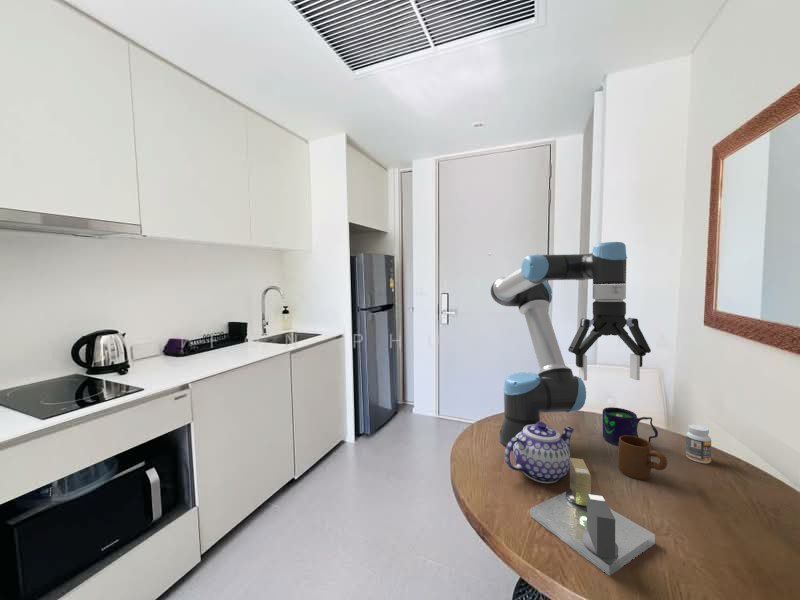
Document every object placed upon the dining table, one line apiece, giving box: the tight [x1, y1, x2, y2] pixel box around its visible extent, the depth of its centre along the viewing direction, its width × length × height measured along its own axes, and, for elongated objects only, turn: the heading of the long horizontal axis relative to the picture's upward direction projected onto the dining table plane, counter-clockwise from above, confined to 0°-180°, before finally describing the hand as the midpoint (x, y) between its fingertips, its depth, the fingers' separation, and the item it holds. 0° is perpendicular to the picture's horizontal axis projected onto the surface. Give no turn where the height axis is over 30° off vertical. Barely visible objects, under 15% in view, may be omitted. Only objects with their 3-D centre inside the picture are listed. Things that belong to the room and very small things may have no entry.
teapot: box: [504, 421, 575, 484], centre depth 93 cm, size 25×15×15 cm, turn 109°
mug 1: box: [602, 406, 659, 446], centre depth 110 cm, size 15×10×10 cm, turn 48°
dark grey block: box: [583, 493, 618, 558], centre depth 64 cm, size 7×6×8 cm
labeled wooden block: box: [565, 457, 592, 506], centre depth 79 cm, size 7×6×8 cm
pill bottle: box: [685, 424, 712, 464], centre depth 99 cm, size 6×6×10 cm
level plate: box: [529, 491, 656, 577], centre depth 72 cm, size 18×16×3 cm
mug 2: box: [618, 435, 668, 481], centre depth 90 cm, size 12×8×9 cm, turn 21°
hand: (608, 379), depth 87 cm, fingers open, 13 cm apart
